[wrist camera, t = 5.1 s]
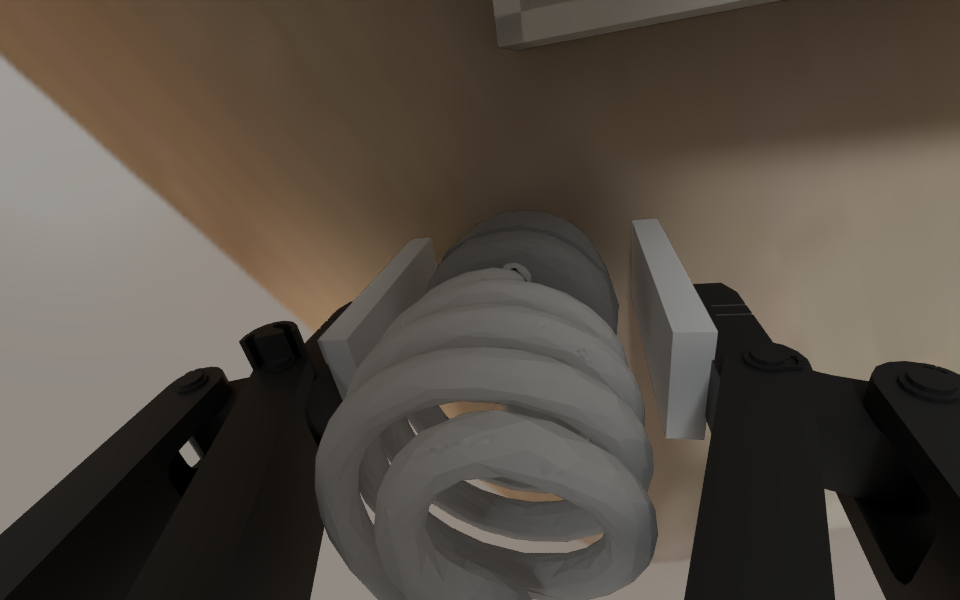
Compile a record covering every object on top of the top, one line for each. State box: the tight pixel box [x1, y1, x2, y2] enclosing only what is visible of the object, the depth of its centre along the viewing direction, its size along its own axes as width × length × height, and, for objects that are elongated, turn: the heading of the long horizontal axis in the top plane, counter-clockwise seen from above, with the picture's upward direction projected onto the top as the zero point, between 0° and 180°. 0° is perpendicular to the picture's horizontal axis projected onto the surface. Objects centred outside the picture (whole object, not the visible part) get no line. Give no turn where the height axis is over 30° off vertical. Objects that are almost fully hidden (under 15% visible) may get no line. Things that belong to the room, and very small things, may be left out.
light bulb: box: [315, 210, 658, 600], centre depth 10 cm, size 6×6×12 cm
